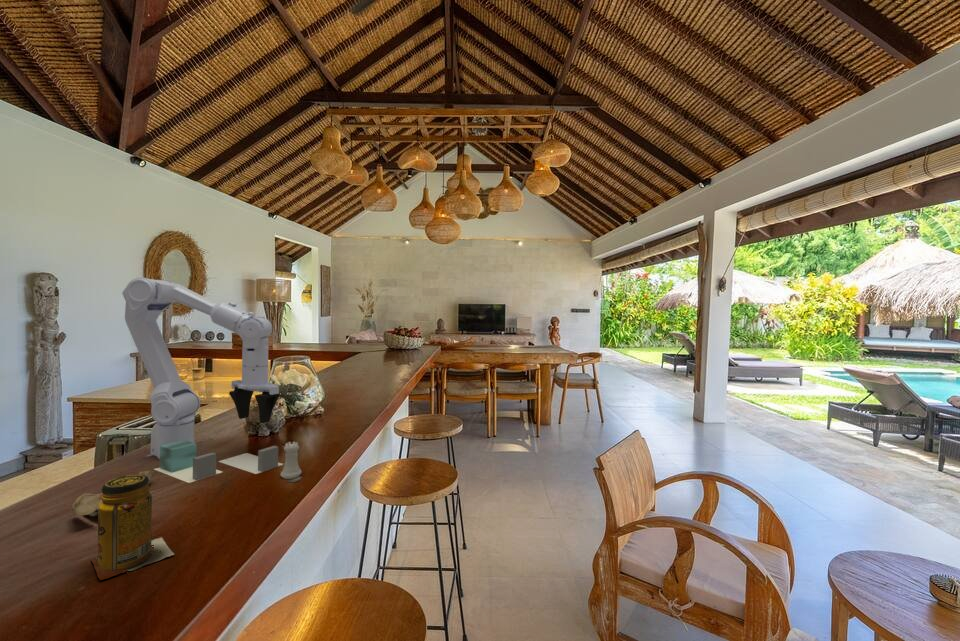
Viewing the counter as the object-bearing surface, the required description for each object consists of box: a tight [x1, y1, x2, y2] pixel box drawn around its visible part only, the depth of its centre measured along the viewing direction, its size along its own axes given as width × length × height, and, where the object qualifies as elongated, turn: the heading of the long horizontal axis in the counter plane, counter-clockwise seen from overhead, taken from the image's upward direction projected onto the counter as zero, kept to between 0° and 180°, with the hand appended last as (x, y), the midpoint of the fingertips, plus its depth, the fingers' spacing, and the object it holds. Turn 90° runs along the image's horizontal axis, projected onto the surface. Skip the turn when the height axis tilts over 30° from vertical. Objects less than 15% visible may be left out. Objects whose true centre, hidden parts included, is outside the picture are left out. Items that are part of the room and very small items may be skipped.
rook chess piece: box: [280, 441, 303, 484], centre depth 92 cm, size 4×4×8 cm
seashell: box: [71, 470, 154, 517], centre depth 77 cm, size 8×17×5 cm, turn 20°
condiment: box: [97, 474, 175, 572], centre depth 62 cm, size 7×8×12 cm
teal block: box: [159, 440, 198, 473], centre depth 94 cm, size 5×5×5 cm
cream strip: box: [153, 451, 223, 484], centre depth 93 cm, size 14×7×5 cm, turn 62°
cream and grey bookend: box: [218, 445, 284, 475], centre depth 98 cm, size 14×7×5 cm, turn 62°
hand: (254, 420), depth 104 cm, fingers open, 7 cm apart
